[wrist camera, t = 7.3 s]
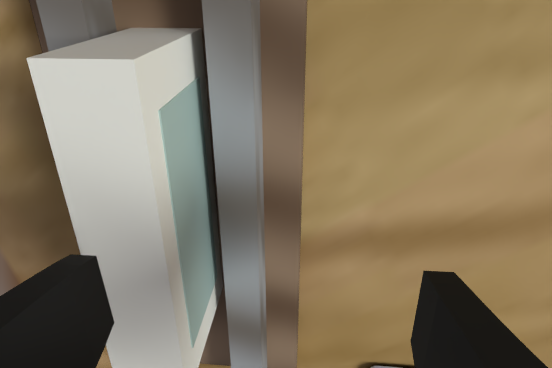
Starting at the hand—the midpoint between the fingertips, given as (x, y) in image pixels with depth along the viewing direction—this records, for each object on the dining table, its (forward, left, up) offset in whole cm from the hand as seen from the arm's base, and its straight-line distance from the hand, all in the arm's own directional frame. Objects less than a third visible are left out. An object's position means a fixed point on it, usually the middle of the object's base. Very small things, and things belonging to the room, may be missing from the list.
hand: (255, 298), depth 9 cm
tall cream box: (-1, +4, -8) cm, 10 cm away
